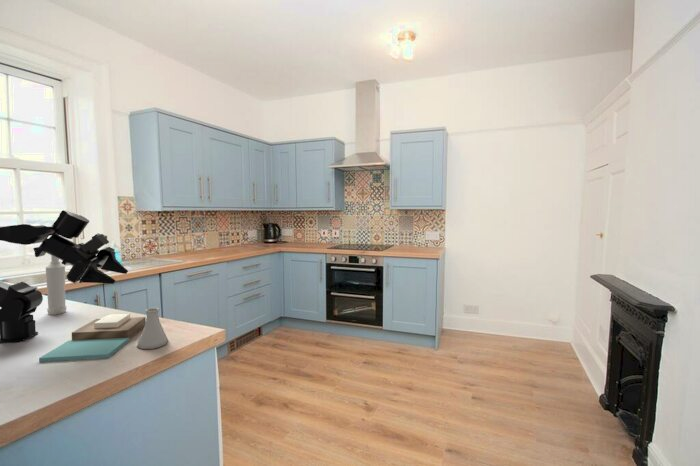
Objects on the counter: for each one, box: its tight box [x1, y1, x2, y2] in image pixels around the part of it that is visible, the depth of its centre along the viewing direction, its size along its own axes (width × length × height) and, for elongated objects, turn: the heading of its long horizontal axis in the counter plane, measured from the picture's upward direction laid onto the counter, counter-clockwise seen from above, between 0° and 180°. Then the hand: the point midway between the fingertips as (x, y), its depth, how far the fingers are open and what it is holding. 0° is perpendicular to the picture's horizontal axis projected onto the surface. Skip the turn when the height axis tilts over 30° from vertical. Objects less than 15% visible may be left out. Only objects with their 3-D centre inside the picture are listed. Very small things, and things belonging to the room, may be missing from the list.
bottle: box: [45, 255, 67, 316], centre depth 117 cm, size 5×5×25 cm
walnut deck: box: [71, 316, 146, 340], centre depth 99 cm, size 14×12×3 cm
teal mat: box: [38, 338, 130, 363], centre depth 87 cm, size 15×11×1 cm
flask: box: [136, 307, 169, 350], centre depth 91 cm, size 7×7×10 cm
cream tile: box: [94, 313, 131, 328], centre depth 100 cm, size 6×8×2 cm
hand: (121, 277), depth 102 cm, fingers open, 9 cm apart
